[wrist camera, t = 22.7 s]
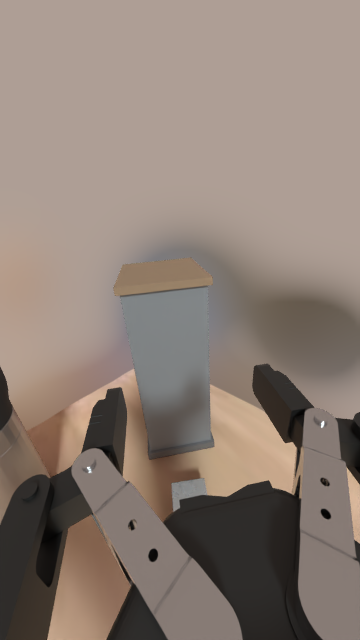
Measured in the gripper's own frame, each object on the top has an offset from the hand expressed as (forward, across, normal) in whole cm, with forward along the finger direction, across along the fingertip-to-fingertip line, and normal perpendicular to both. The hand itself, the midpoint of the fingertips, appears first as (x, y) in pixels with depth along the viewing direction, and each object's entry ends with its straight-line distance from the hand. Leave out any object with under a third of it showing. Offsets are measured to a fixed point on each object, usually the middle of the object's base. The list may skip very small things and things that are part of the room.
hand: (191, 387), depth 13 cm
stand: (+23, 0, -30) cm, 38 cm away
